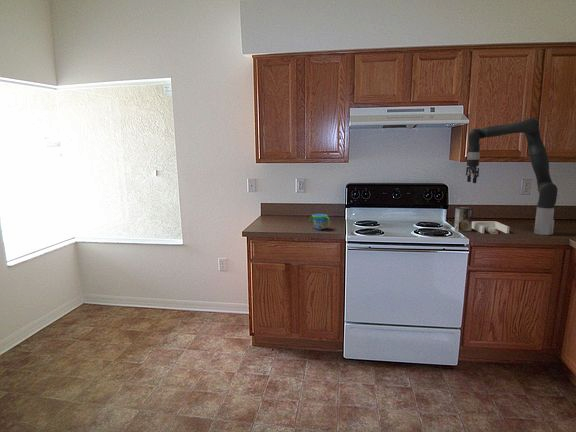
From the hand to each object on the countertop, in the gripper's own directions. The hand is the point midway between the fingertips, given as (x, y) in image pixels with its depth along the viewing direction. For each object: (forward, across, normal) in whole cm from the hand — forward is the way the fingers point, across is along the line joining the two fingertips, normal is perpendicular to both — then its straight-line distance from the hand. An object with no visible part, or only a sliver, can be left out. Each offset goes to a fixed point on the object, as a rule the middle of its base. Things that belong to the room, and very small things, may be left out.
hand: (471, 182), depth 257 cm
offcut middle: (+31, -19, -7) cm, 37 cm away
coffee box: (+32, -12, +9) cm, 35 cm away
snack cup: (+31, -3, +105) cm, 110 cm away
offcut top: (+30, -19, -7) cm, 36 cm away
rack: (+32, -12, -8) cm, 35 cm away
